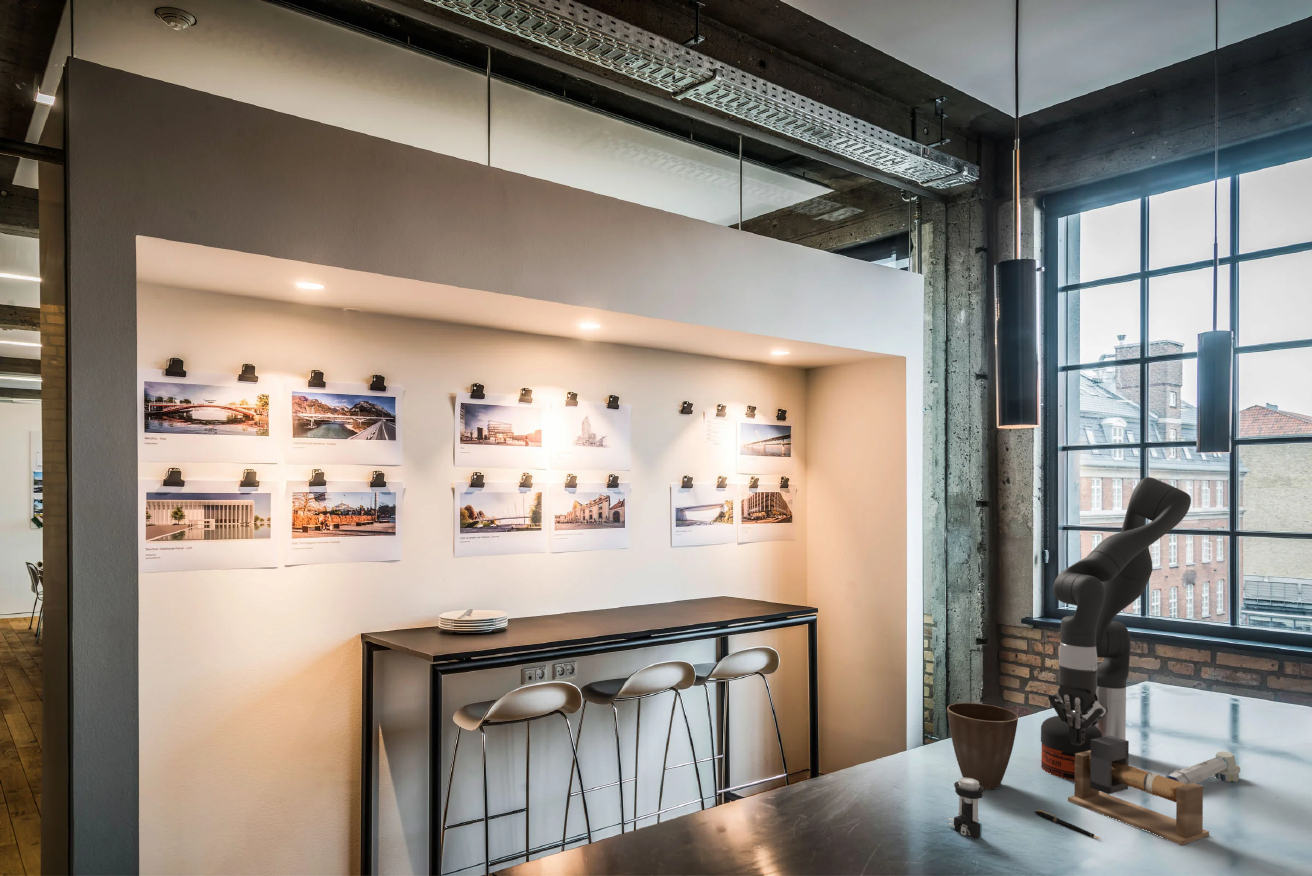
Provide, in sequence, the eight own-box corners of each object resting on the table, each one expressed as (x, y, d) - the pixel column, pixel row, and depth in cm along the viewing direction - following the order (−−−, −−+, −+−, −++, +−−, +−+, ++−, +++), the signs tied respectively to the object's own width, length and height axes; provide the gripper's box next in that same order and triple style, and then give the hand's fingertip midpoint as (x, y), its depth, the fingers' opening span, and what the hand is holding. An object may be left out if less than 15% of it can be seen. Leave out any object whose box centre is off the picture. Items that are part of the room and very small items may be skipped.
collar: (1090, 787, 172) (1090, 739, 172) (1109, 782, 175) (1110, 735, 176) (1108, 794, 168) (1109, 745, 169) (1128, 789, 172) (1128, 741, 172)
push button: (941, 829, 157) (942, 777, 158) (957, 823, 161) (958, 771, 161) (972, 842, 152) (973, 788, 153) (988, 836, 155) (989, 782, 156)
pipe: (1085, 774, 174) (1085, 754, 174) (1096, 771, 176) (1097, 751, 176) (1178, 807, 158) (1179, 785, 158) (1190, 803, 160) (1190, 782, 160)
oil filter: (1109, 773, 193) (1052, 758, 202) (1110, 721, 193) (1052, 708, 202) (1091, 786, 184) (1031, 770, 193) (1091, 731, 184) (1032, 717, 193)
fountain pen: (1103, 842, 155) (1103, 834, 155) (1100, 843, 154) (1100, 835, 155) (1035, 813, 168) (1035, 806, 168) (1032, 815, 167) (1032, 807, 167)
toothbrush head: (1158, 771, 184) (1220, 743, 196) (1160, 800, 184) (1222, 770, 196) (1182, 779, 180) (1244, 750, 191) (1185, 809, 180) (1246, 778, 191)
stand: (1067, 801, 174) (1068, 754, 175) (1095, 793, 179) (1096, 748, 180) (1181, 845, 154) (1181, 792, 155) (1209, 835, 159) (1209, 784, 160)
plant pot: (934, 782, 182) (936, 710, 183) (961, 766, 193) (962, 698, 194) (1002, 802, 172) (1003, 726, 173) (1026, 784, 183) (1028, 712, 184)
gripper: (1039, 659, 183) (1038, 737, 182) (1096, 673, 172) (1096, 756, 171) (1060, 657, 187) (1059, 733, 186) (1117, 670, 175) (1116, 751, 175)
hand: (1076, 744), depth 178 cm, fingers closed
